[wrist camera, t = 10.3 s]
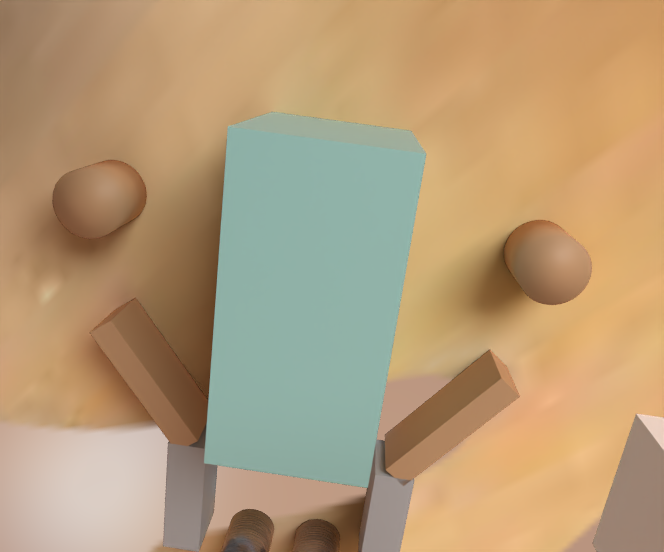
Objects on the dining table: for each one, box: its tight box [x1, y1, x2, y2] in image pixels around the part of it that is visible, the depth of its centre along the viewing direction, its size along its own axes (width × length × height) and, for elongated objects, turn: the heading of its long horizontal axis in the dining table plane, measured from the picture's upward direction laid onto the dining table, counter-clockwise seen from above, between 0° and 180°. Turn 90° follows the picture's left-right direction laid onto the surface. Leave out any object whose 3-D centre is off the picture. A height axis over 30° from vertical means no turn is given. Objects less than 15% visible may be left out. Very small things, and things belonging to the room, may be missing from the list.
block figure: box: [53, 160, 592, 552], centre depth 24 cm, size 18×15×2 cm
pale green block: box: [204, 112, 426, 488], centre depth 20 cm, size 5×10×7 cm, turn 173°
